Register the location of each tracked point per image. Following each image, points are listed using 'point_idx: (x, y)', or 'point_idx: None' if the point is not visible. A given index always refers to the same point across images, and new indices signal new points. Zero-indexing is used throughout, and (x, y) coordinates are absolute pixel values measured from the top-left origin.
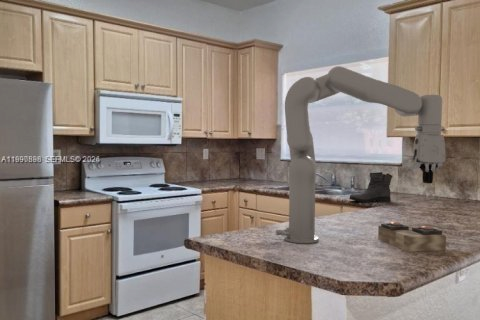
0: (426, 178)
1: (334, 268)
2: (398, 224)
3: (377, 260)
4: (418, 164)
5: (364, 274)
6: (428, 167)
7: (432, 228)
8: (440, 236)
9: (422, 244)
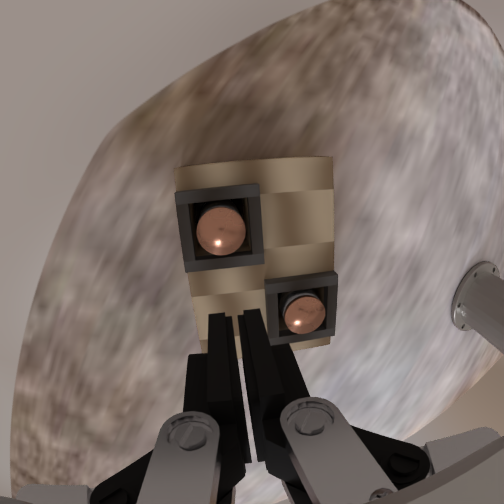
0: (275, 355)
1: (492, 79)
2: (301, 297)
3: (425, 94)
4: (462, 455)
5: (463, 32)
6: (301, 456)
7: (206, 212)
8: (198, 165)
9: (271, 158)
